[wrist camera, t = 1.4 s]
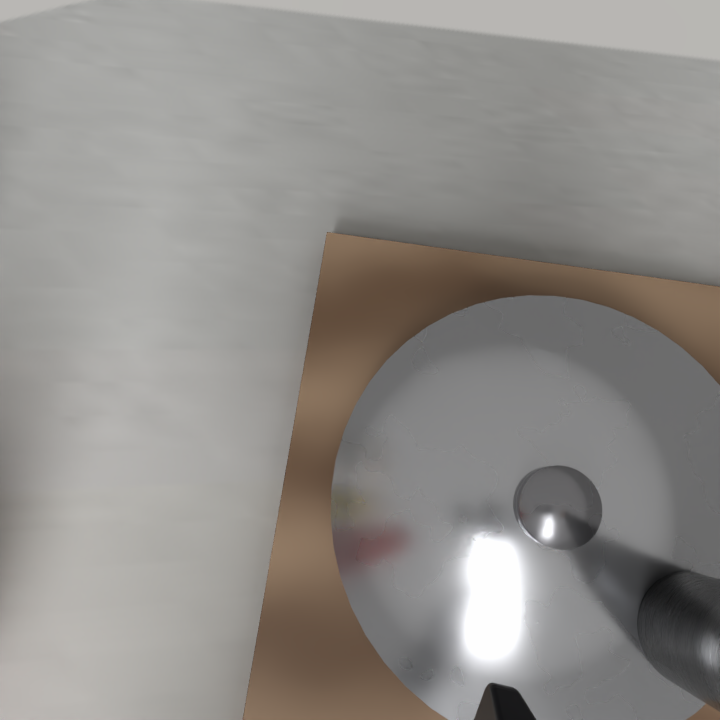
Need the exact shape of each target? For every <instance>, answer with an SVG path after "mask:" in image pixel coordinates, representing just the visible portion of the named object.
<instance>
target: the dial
mask: <svg viewBox="0 0 720 720" xmlns="http://www.w3.org/2000/svg"><path fill="white" fill-rule="evenodd" d="M331 525H332V536H333V546H334V551H335V555H336V560H337V564H338V569H339V573H340V577H341V580H342V583H343V586H344V588H345V591H346V594H347V597H348V600H349V602H350V605H351V608H352V609H353V611H354V613H355V615H356V617H357V619H358V621H359V623H360V625H361V627H362V629H363V631H364V633H365V635H366V636H367V638H368V639H369V641H370V642H371V644H372V645H373V647H374V648H375V650H376V651H377V653H378V654H379V656H380V657H381V658H382V660H383V661H384V663H385V664H386V665H387V666H388V667H389V668H390V669H391V671H392V672H393V673H394V674H395V675H396V676H397V677H398V678H399V680H400V681H401V682H402V683H403V684H404V685H405V686H406V687H407V688H408V689H409V690H410V691H412V692H413V693H414V694H415V695H416V696H417V697H418V698H420V699H421V700H422V701H423V702H424V703H425V704H426V705H428V706H429V707H430V708H431V709H433V710H434V711H436V712H437V713H439V714H440V715H442V716H444V717H445V718H447V719H448V720H474V718H475V715H476V712H477V710H478V707H479V704H480V701H481V698H482V695H483V693H484V690H485V688H486V686H487V685H488V684H489V683H492V682H493V683H498V684H502V685H506V686H510V687H513V688H515V689H517V690H518V691H519V693H520V694H521V696H522V697H523V699H524V700H525V702H526V704H527V705H528V707H529V708H530V710H531V712H532V713H533V715H534V717H535V718H536V720H686V719H688V718H689V717H691V716H692V715H694V714H695V713H696V712H697V711H699V710H700V709H701V708H702V707H703V706H704V705H705V704H708V705H709V706H711V707H712V708H714V709H716V710H717V711H719V712H720V385H719V384H718V383H717V382H716V381H715V380H714V378H713V377H712V376H711V375H710V374H709V373H708V372H707V371H706V369H705V368H704V367H703V366H702V365H701V364H700V363H698V362H697V361H696V360H695V359H694V358H693V357H692V356H691V355H690V354H688V353H687V352H686V351H685V350H684V349H683V348H682V347H680V346H679V345H678V344H676V343H675V342H673V341H672V340H671V339H669V338H668V337H666V336H665V335H664V334H662V333H661V332H659V331H658V330H656V329H654V328H652V327H651V326H649V325H647V324H645V323H643V322H641V321H640V320H638V319H636V318H634V317H632V316H629V315H627V314H624V313H622V312H619V311H617V310H614V309H612V308H609V307H606V306H603V305H599V304H595V303H592V302H588V301H584V300H580V299H573V298H566V297H559V296H535V295H527V296H517V297H508V298H500V299H496V300H492V301H488V302H483V303H479V304H475V305H473V306H470V307H467V308H465V309H462V310H459V311H457V312H454V313H452V314H450V315H448V316H446V317H444V318H442V319H440V320H438V321H437V322H435V323H433V324H431V325H429V326H427V327H426V328H425V329H423V330H422V331H421V332H419V333H418V334H416V335H415V336H414V337H412V338H411V339H409V340H408V341H407V342H406V343H405V344H403V345H402V346H401V347H400V348H399V349H398V350H397V351H396V352H395V353H394V354H393V355H392V356H391V357H390V358H389V359H388V360H387V361H386V362H385V363H384V364H383V366H382V367H381V368H380V369H379V371H378V372H377V373H376V374H375V376H374V377H373V378H372V379H371V380H370V382H369V384H368V385H367V387H366V388H365V390H364V392H363V393H362V395H361V397H360V398H359V400H358V402H357V403H356V405H355V407H354V409H353V412H352V414H351V416H350V418H349V421H348V423H347V425H346V427H345V430H344V433H343V436H342V440H341V443H340V446H339V450H338V453H337V457H336V462H335V468H334V474H333V481H332V488H331Z"/></svg>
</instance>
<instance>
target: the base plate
mask: <svg viewBox="0 0 720 720" xmlns="http://www.w3.org/2000/svg"><path fill="white" fill-rule="evenodd" d="M527 295H535V296H559V297H566V298H573V299H580V300H584V301H588V302H592V303H595V304H599V305H603V306H606V307H609V308H612V309H614V310H617V311H619V312H622V313H624V314H627V315H629V316H632V317H634V318H636V319H638V320H640V321H641V322H643V323H645V324H647V325H649V326H651V327H652V328H654V329H656V330H658V331H659V332H661V333H662V334H664V335H665V336H666V337H668V338H669V339H671V340H672V341H673V342H675V343H676V344H678V345H679V346H680V347H682V348H683V349H684V350H685V351H686V352H687V353H688V354H690V355H691V356H692V357H693V358H694V359H695V360H696V361H697V362H698V363H700V364H701V365H702V366H703V367H704V368H705V369H706V371H707V372H708V373H709V374H710V375H711V376H712V377H713V378H714V380H715V381H716V382H717V383H718V384H719V385H720V287H719V286H711V285H704V284H697V283H690V282H683V281H676V280H668V279H661V278H654V277H647V276H640V275H632V274H625V273H618V272H611V271H604V270H596V269H589V268H582V267H575V266H568V265H560V264H553V263H546V262H539V261H532V260H524V259H517V258H510V257H503V256H496V255H488V254H481V253H474V252H467V251H460V250H452V249H445V248H438V247H431V246H424V245H416V244H409V243H402V242H395V241H388V240H380V239H373V238H366V237H359V236H352V235H344V234H337V233H330V232H327V235H326V241H325V247H324V253H323V259H322V264H321V270H320V276H319V282H318V287H317V293H316V299H315V305H314V311H313V316H312V322H311V328H310V334H309V339H308V345H307V351H306V357H305V363H304V368H303V374H302V380H301V386H300V391H299V397H298V403H297V409H296V415H295V420H294V426H293V432H292V438H291V443H290V449H289V455H288V461H287V466H286V472H285V478H284V484H283V490H282V495H281V501H280V507H279V513H278V518H277V524H276V530H275V536H274V542H273V547H272V553H271V559H270V565H269V570H268V576H267V582H266V588H265V594H264V599H263V605H262V611H261V617H260V622H259V628H258V634H257V640H256V646H255V651H254V657H253V663H252V669H251V674H250V680H249V686H248V692H247V698H246V703H245V709H244V715H243V720H448V719H447V718H445V717H444V716H442V715H440V714H439V713H437V712H436V711H434V710H433V709H431V708H430V707H429V706H428V705H426V704H425V703H424V702H423V701H422V700H421V699H420V698H418V697H417V696H416V695H415V694H414V693H413V692H412V691H410V690H409V689H408V688H407V687H406V686H405V685H404V684H403V683H402V682H401V681H400V680H399V678H398V677H397V676H396V675H395V674H394V673H393V672H392V671H391V669H390V668H389V667H388V666H387V665H386V664H385V663H384V661H383V660H382V658H381V657H380V656H379V654H378V653H377V651H376V650H375V648H374V647H373V645H372V644H371V642H370V641H369V639H368V638H367V636H366V635H365V633H364V631H363V629H362V627H361V625H360V623H359V621H358V619H357V617H356V615H355V613H354V611H353V609H352V608H351V605H350V602H349V600H348V597H347V594H346V591H345V588H344V586H343V583H342V580H341V577H340V573H339V569H338V564H337V560H336V555H335V551H334V546H333V536H332V525H331V488H332V481H333V474H334V468H335V462H336V457H337V453H338V450H339V446H340V443H341V440H342V436H343V433H344V430H345V427H346V425H347V423H348V421H349V418H350V416H351V414H352V412H353V409H354V407H355V405H356V403H357V402H358V400H359V398H360V397H361V395H362V393H363V392H364V390H365V388H366V387H367V385H368V384H369V382H370V380H371V379H372V378H373V377H374V376H375V374H376V373H377V372H378V371H379V369H380V368H381V367H382V366H383V364H384V363H385V362H386V361H387V360H388V359H389V358H390V357H391V356H392V355H393V354H394V353H395V352H396V351H397V350H398V349H399V348H400V347H401V346H402V345H403V344H405V343H406V342H407V341H408V340H409V339H411V338H412V337H414V336H415V335H416V334H418V333H419V332H421V331H422V330H423V329H425V328H426V327H427V326H429V325H431V324H433V323H435V322H437V321H438V320H440V319H442V318H444V317H446V316H448V315H450V314H452V313H454V312H457V311H459V310H462V309H465V308H467V307H470V306H473V305H475V304H479V303H483V302H488V301H492V300H496V299H500V298H508V297H517V296H527ZM686 720H720V712H719V711H717V710H716V709H714V708H712V707H711V706H709V705H708V704H705V705H704V706H703V707H702V708H701V709H700V710H699V711H697V712H696V713H695V714H694V715H692V716H691V717H689V718H688V719H686Z"/></svg>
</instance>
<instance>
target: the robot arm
mask: <svg viewBox="0 0 720 720" xmlns="http://www.w3.org/2000/svg"><path fill="white" fill-rule="evenodd" d="M474 720H536V718H535V717H534V715H533V713H532V712H531V710H530V708H529V707H528V705H527V704H526V702H525V700H524V699H523V697H522V696H521V694H520V693H519V691H518V690H517V689H515V688H513V687H510V686H506V685H502V684H498V683H493V682H492V683H489V684H488V685H487V686H486V688H485V690H484V693H483V695H482V698H481V701H480V704H479V707H478V710H477V712H476V715H475V718H474Z"/></svg>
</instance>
